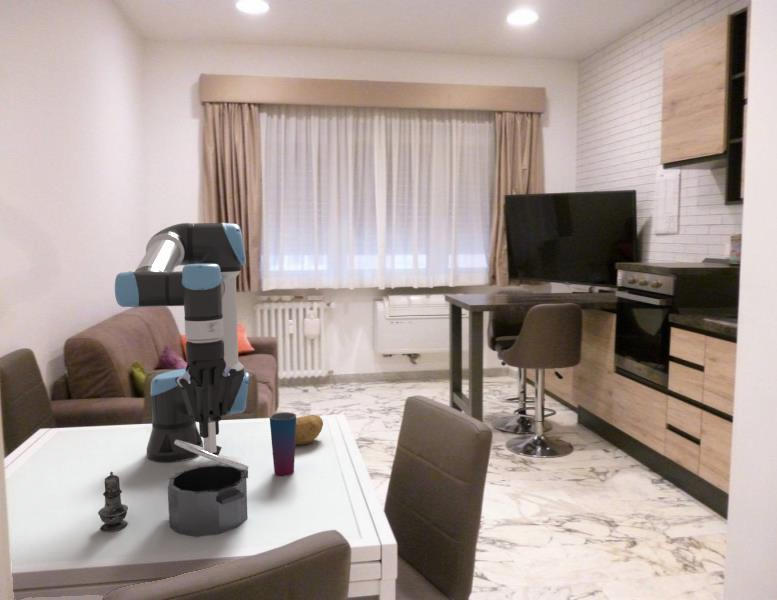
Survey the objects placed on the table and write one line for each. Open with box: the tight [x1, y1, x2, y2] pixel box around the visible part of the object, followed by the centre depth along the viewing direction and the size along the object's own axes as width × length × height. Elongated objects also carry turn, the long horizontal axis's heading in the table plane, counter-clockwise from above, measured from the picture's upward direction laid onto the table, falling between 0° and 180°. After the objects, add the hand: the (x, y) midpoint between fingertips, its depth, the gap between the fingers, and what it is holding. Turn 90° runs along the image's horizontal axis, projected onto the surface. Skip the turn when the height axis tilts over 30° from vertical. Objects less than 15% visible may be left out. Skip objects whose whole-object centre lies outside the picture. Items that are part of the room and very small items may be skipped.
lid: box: [174, 440, 249, 471], centre depth 134 cm, size 17×17×3 cm
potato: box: [295, 414, 324, 446], centre depth 183 cm, size 10×14×8 cm
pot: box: [167, 463, 249, 537], centre depth 134 cm, size 20×17×9 cm
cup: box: [269, 411, 297, 477], centre depth 159 cm, size 7×7×15 cm
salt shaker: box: [97, 470, 129, 533], centre depth 130 cm, size 6×6×12 cm
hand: (210, 451), depth 128 cm, fingers closed
